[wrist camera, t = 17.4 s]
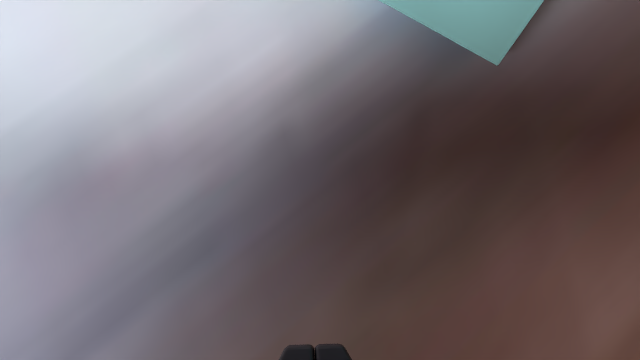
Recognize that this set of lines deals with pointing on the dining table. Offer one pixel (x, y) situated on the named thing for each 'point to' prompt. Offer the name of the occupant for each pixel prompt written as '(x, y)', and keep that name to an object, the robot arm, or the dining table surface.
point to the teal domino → (473, 21)
